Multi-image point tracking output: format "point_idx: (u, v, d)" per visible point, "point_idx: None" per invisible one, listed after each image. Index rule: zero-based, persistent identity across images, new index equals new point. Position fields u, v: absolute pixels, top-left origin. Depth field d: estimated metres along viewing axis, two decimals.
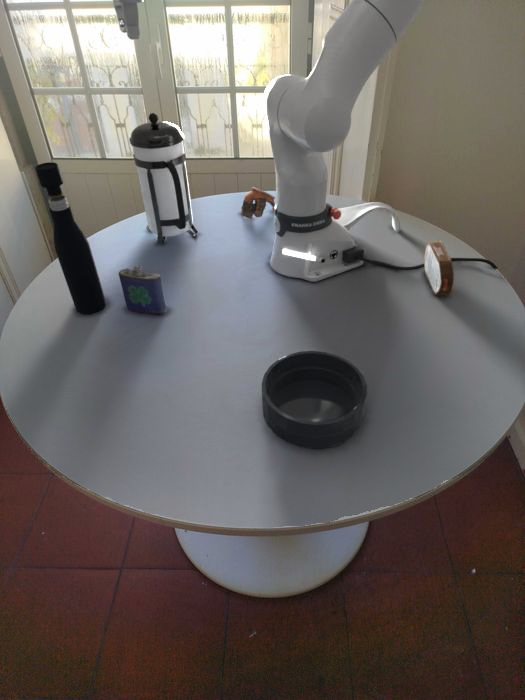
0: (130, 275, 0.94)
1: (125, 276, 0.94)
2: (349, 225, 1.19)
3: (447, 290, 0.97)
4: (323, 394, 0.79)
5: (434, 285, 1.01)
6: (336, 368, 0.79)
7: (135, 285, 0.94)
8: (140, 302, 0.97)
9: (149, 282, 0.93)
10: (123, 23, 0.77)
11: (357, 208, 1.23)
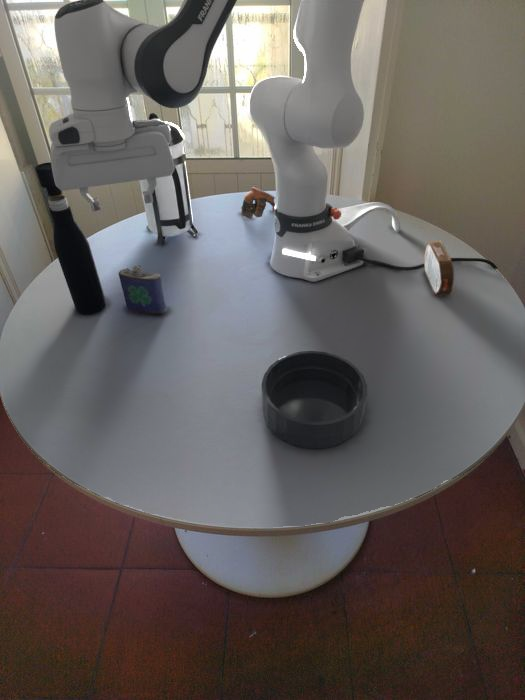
0: (130, 275, 0.94)
1: (125, 276, 0.94)
2: (349, 225, 1.19)
3: (447, 290, 0.97)
4: (323, 394, 0.79)
5: (434, 285, 1.01)
6: (336, 368, 0.79)
7: (135, 285, 0.94)
8: (140, 302, 0.97)
9: (149, 282, 0.93)
10: (98, 203, 0.83)
11: (357, 208, 1.23)
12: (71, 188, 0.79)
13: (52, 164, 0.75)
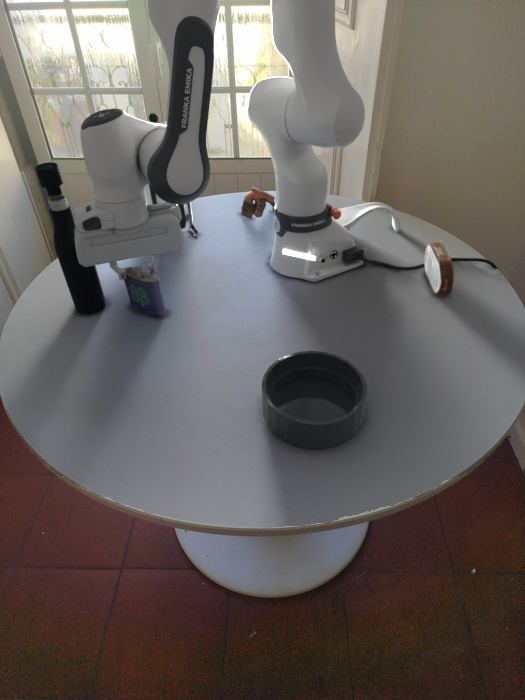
0: (131, 275, 0.94)
1: (126, 274, 0.94)
2: (349, 225, 1.19)
3: (447, 290, 0.97)
4: (323, 394, 0.79)
5: (434, 285, 1.01)
6: (336, 368, 0.79)
7: (135, 285, 0.94)
8: (140, 302, 0.97)
9: (146, 285, 0.93)
10: (125, 272, 0.93)
11: (357, 208, 1.23)
12: (92, 264, 0.88)
13: (76, 246, 0.84)
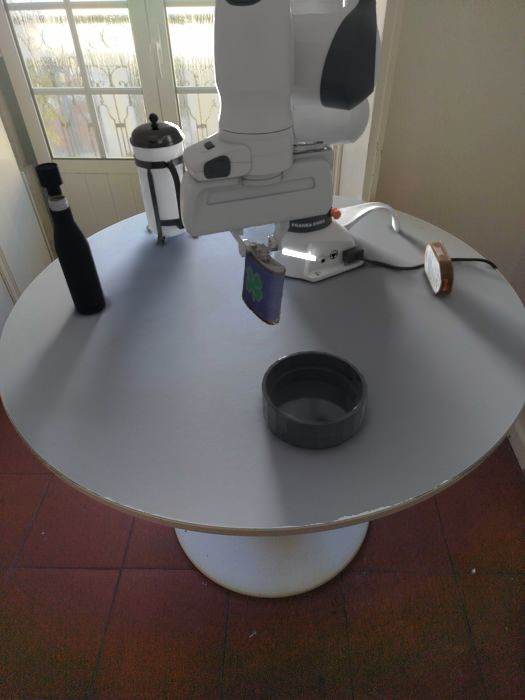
0: (254, 252, 0.65)
1: None
2: (349, 225, 1.19)
3: (447, 290, 0.97)
4: (323, 394, 0.79)
5: (434, 285, 1.01)
6: (336, 368, 0.79)
7: (253, 268, 0.65)
8: (252, 294, 0.68)
9: (266, 273, 0.63)
10: None
11: (357, 208, 1.23)
12: (205, 233, 0.59)
13: (188, 204, 0.56)
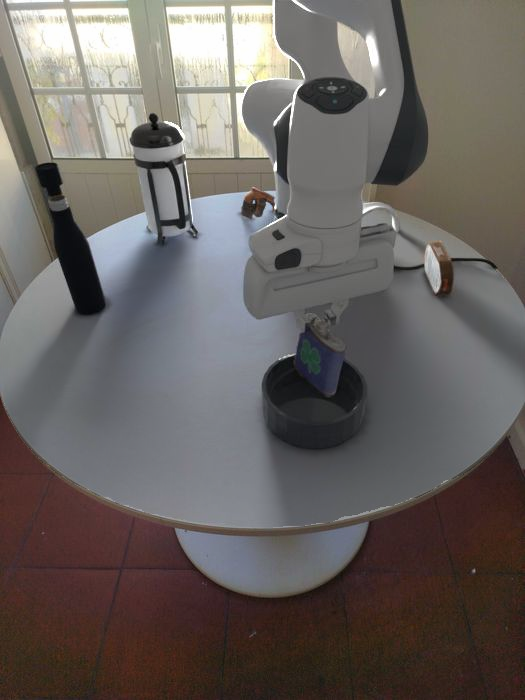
0: (312, 327, 0.65)
1: None
2: None
3: (447, 290, 0.97)
4: None
5: (434, 285, 1.01)
6: None
7: (311, 342, 0.65)
8: (307, 365, 0.68)
9: (326, 350, 0.63)
10: None
11: None
12: (269, 316, 0.59)
13: (256, 292, 0.56)
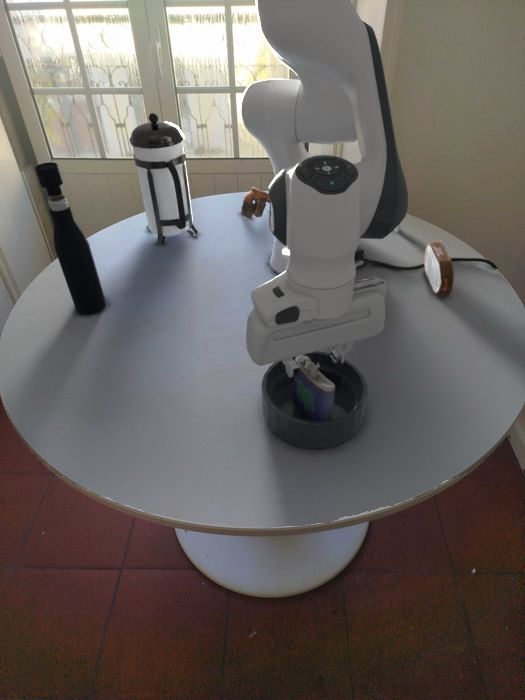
0: (303, 369, 0.70)
1: None
2: None
3: (447, 290, 0.97)
4: None
5: (434, 285, 1.01)
6: (336, 368, 0.79)
7: (304, 383, 0.71)
8: (303, 403, 0.73)
9: (317, 391, 0.68)
10: None
11: None
12: (270, 362, 0.64)
13: (258, 343, 0.61)
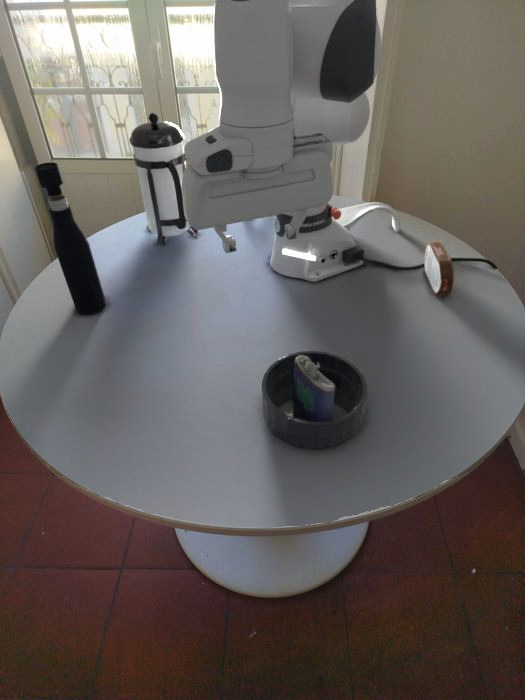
0: (303, 369, 0.70)
1: (298, 366, 0.71)
2: (349, 225, 1.19)
3: (447, 290, 0.97)
4: None
5: (434, 285, 1.01)
6: (336, 368, 0.79)
7: (304, 383, 0.71)
8: (303, 403, 0.73)
9: (317, 391, 0.68)
10: None
11: (357, 208, 1.23)
12: (208, 227, 0.60)
13: (191, 198, 0.57)
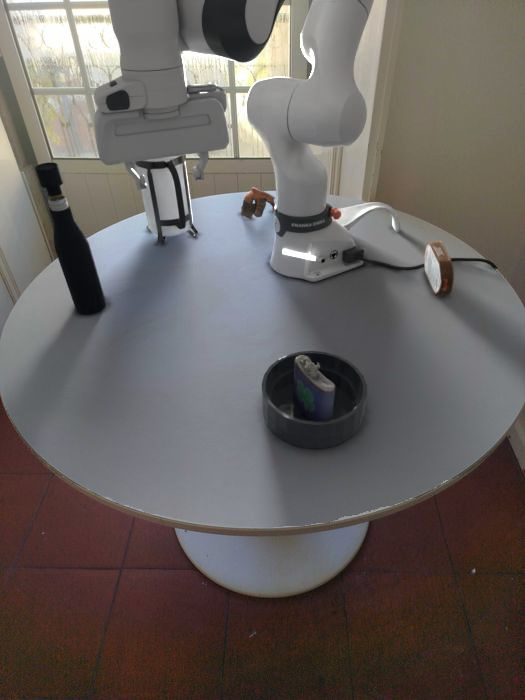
0: (303, 369, 0.70)
1: (298, 366, 0.71)
2: (349, 225, 1.19)
3: (447, 290, 0.97)
4: None
5: (434, 285, 1.01)
6: (336, 368, 0.79)
7: (304, 383, 0.71)
8: (303, 403, 0.73)
9: (317, 391, 0.68)
10: (145, 180, 0.74)
11: (357, 208, 1.23)
12: (117, 162, 0.70)
13: (97, 134, 0.67)
